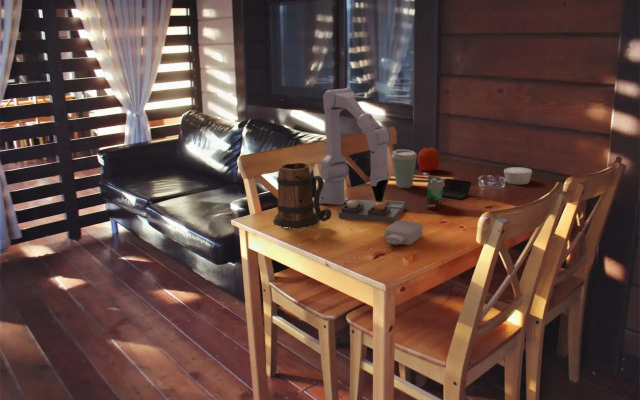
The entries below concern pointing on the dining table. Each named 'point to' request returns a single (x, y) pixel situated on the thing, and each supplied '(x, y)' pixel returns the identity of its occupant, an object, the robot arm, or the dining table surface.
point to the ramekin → (517, 175)
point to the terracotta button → (379, 206)
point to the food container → (434, 192)
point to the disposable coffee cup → (404, 167)
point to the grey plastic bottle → (403, 232)
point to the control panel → (373, 211)
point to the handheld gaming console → (456, 189)
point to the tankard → (298, 197)
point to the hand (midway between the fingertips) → (379, 200)
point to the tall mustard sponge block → (383, 201)
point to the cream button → (352, 204)
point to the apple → (428, 159)
